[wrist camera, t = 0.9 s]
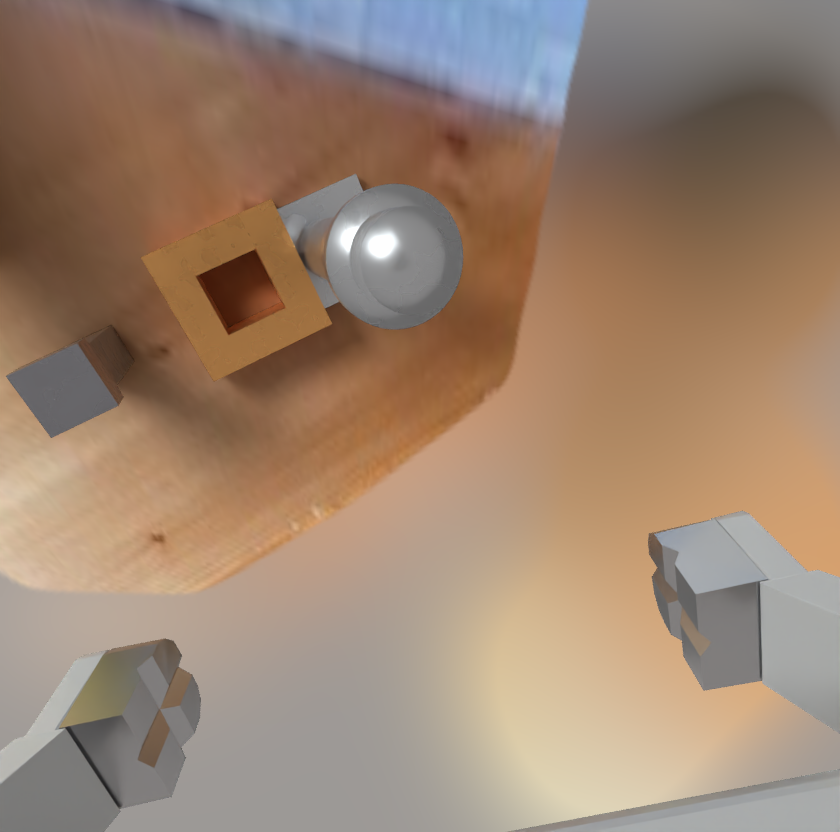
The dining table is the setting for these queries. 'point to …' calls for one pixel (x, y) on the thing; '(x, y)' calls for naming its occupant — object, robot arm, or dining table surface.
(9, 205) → the dining table surface
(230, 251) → the metal post on base
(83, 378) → the grey square peg
